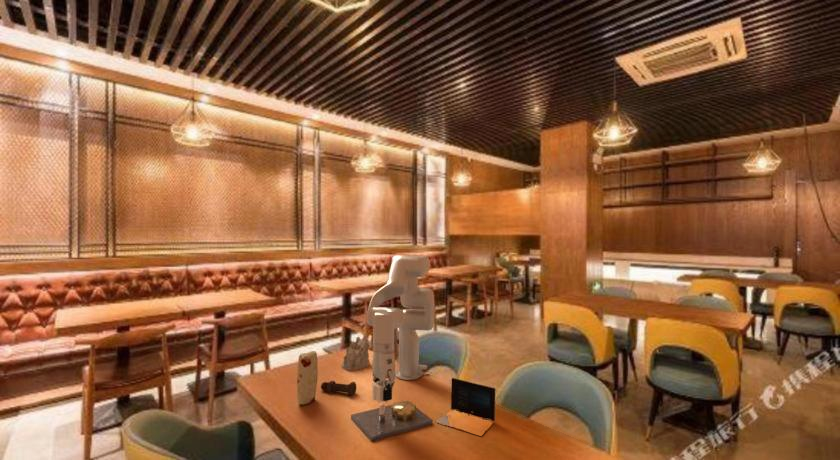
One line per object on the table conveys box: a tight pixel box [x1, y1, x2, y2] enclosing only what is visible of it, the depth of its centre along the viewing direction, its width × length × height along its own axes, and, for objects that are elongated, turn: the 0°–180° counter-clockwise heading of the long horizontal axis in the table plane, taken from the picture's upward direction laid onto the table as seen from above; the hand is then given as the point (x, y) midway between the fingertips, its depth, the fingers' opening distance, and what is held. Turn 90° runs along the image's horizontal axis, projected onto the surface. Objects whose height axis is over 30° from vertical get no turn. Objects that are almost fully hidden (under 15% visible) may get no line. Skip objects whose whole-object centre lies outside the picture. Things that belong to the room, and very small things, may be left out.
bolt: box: [320, 380, 357, 397], centre depth 168 cm, size 6×5×15 cm
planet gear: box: [371, 380, 389, 403], centre depth 141 cm, size 7×7×5 cm
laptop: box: [435, 377, 496, 428], centre depth 144 cm, size 18×12×13 cm
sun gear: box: [391, 400, 417, 420], centre depth 146 cm, size 9×9×3 cm
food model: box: [296, 350, 319, 405], centre depth 158 cm, size 10×7×20 cm
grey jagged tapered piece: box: [341, 335, 370, 371], centre depth 203 cm, size 16×16×15 cm
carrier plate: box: [350, 400, 433, 443], centre depth 143 cm, size 24×18×7 cm
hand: (382, 395), depth 141 cm, fingers closed on planet gear, 7 cm apart
